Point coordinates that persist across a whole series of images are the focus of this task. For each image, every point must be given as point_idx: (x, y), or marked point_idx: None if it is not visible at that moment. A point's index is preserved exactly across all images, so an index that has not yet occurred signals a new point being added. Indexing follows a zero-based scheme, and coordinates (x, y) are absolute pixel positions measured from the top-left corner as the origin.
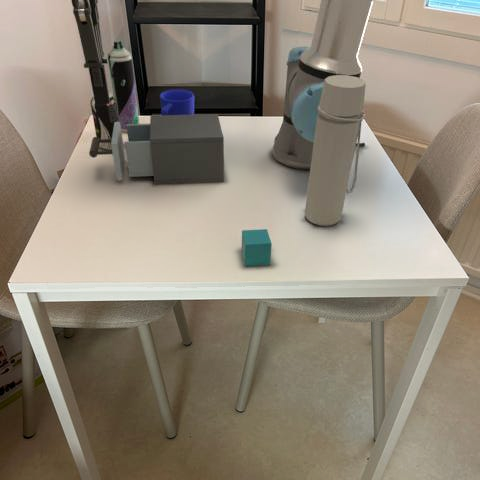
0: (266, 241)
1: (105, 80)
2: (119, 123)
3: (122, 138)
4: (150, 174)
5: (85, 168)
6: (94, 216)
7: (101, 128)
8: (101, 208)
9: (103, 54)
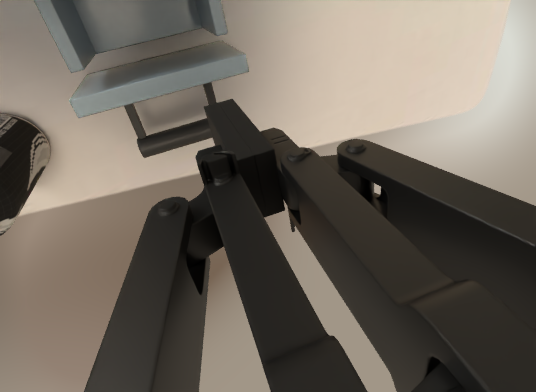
0: None
1: (255, 127)
2: (85, 97)
3: (79, 86)
4: None
5: None
6: (347, 60)
7: (36, 171)
8: (321, 56)
9: (174, 202)
